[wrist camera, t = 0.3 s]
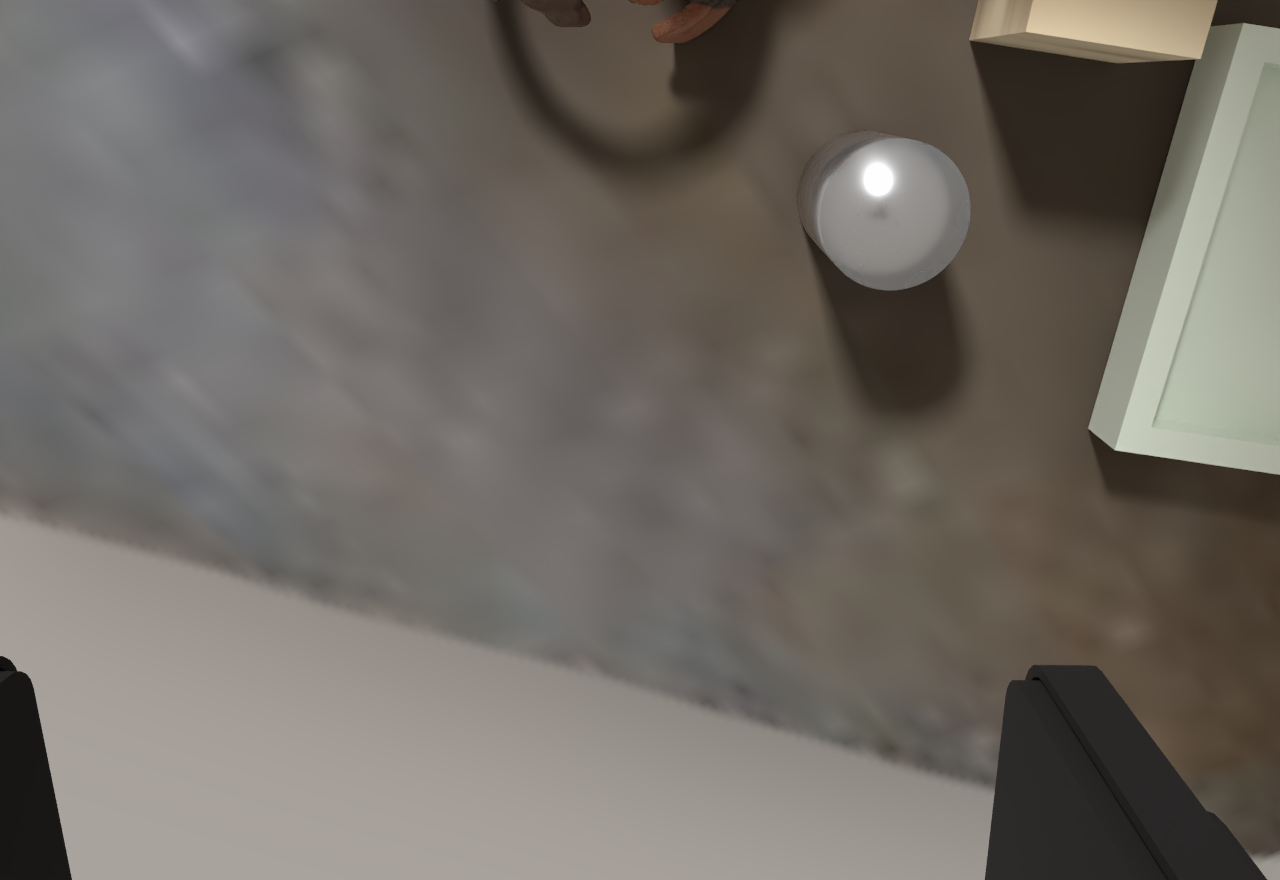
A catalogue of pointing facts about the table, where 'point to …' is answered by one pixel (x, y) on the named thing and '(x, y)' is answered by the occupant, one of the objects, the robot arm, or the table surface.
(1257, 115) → the tray
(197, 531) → the table surface
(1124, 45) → the beech block
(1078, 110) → the table surface
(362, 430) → the table surface
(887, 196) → the grey canister
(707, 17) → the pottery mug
